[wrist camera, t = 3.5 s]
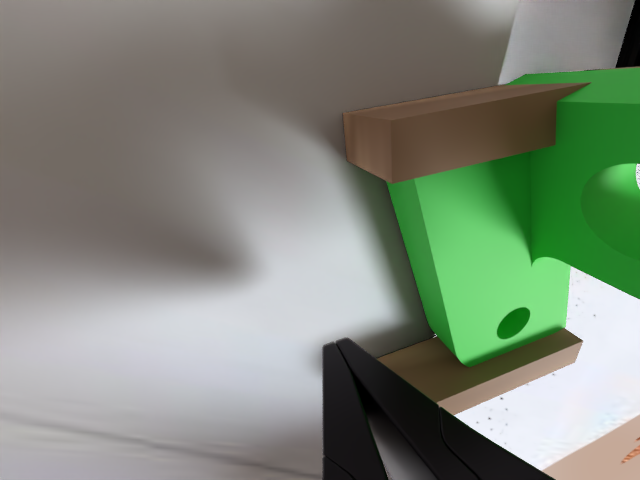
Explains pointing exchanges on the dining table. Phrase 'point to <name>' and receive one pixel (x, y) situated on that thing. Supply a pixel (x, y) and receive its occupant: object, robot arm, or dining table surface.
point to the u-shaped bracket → (631, 41)
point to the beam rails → (447, 154)
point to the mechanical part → (529, 222)
